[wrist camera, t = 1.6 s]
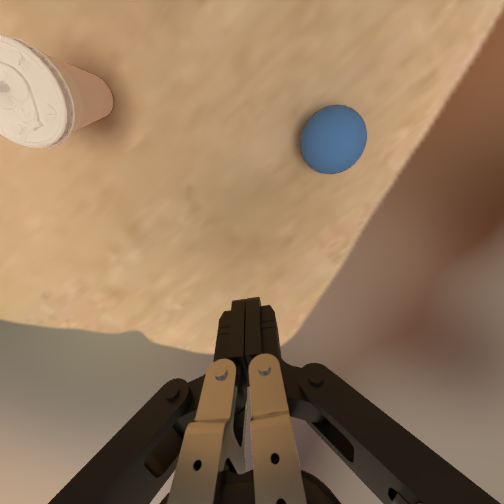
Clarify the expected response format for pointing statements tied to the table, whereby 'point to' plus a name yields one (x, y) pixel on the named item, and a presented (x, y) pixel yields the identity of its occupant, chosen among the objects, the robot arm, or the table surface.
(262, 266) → the table surface
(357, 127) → the ball
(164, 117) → the table surface
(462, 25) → the table surface
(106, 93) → the smoothie
